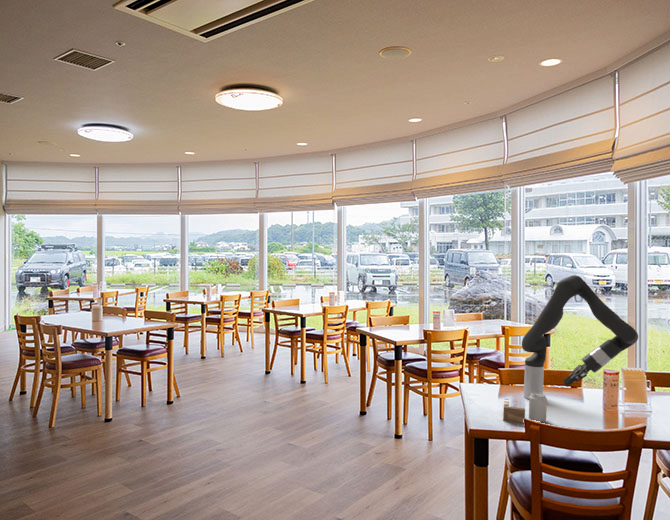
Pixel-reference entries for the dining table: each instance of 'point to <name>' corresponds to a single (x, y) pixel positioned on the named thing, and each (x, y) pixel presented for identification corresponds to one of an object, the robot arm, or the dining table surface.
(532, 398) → the can
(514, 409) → the corner stop
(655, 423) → the dining table surface
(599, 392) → the dining table surface
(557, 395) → the dining table surface
